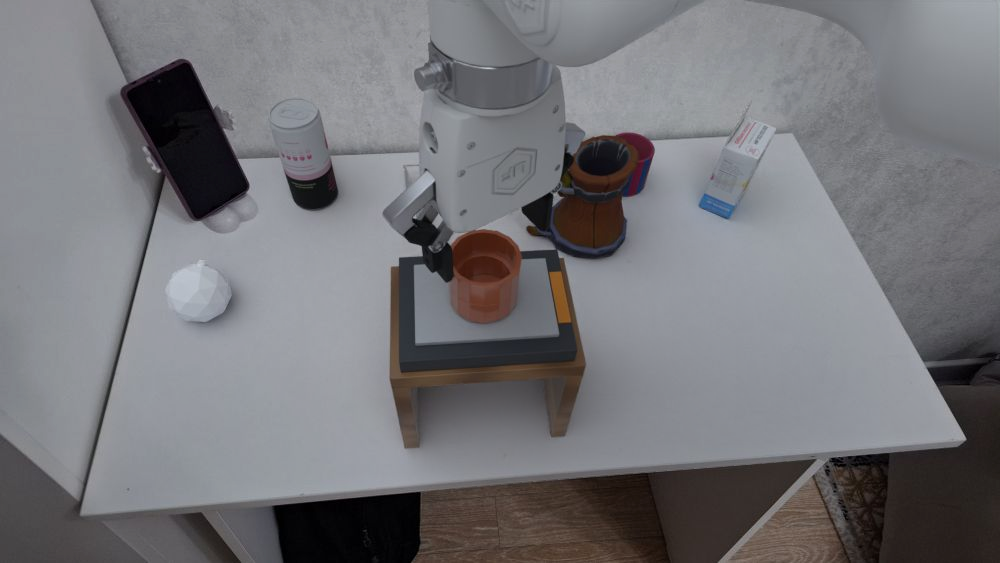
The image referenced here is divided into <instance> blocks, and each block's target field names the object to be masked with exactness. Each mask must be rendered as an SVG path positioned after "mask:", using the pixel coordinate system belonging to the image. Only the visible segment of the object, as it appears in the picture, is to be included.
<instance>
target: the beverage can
mask: <svg viewBox="0 0 1000 563" xmlns="http://www.w3.org/2000/svg"><path fill="white" fill-rule="evenodd" d="M267 117H268V118H267V122H268V125H269V128H270V132H271V134H272V137H273V138H272V139H273V141H274V144H275V147H276V150H277V154H278V157H279V159H280V162H281V165H282V168H283V171H284V175H285V178H286V181H287V185H288V187H289V191H290V194H291V197H292V200H293V202H294V204H296V206H298V207H299V208H302V209H304V210H308V211H309V210H310V211H316V210H317V211H318V210H321V209H325V208H327V207H329V206H330V205H331V204H333V203H334V202H335V201H336V199H337V198H338V196H339V188H338V182H337V178H336V175H335V171H334V170H335V169H334V167H333V162H332V157H331V153H330V149H329V144H328V140H327V136H326V132H325V128H324V122H323V120H322V115H321V111H320V109H319V108H318V106H317V103H315V102H314V101H313V100H311V99H309V98H306V97H301V96H300V97H299V96H294V97H287V98H283V99H281V100H278V101H277V102H275V103H274V104H273V105H271V107H270V108H269V110H268V113H267Z"/></svg>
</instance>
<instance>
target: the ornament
mask: <svg viewBox="0 0 1000 563" xmlns="http://www.w3.org/2000/svg"><path fill="white" fill-rule="evenodd" d="M164 292H165V297H166V300H167V306H168V309H169V310H171V311H172V312H173V313H175V315H176V316H178V317H180V318H181V319H182V320H184V321H185V322H199V323H200V322H201V323H208V322H209V321H211V320H212V319H214V318H217V317H218V316H220V315H222V314H224V313H225V311H226V309H227V307H228V305H229V302H230V300H231V298H232V296H233V294H232V290H231V286H230V282H229V279H228V277H227V276H226V275H225V274H224V273H223V272H221V271H220V270H219V269H218V268H216V267H215V266H214V265H212V264H207V261H206V260H205V259H199V260H197V263H190V264H187V265H185V266H184V267H182V268H179V269H178V270H176V271H174V272H173V273H172V275H171V277H170V279H169V281H168V282H167V285H166V286H165V289H164Z"/></svg>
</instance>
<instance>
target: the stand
mask: <svg viewBox="0 0 1000 563" xmlns="http://www.w3.org/2000/svg"><path fill="white" fill-rule="evenodd" d="M559 261H560V266H561V270H562V275H563V280H564V285H565V290H566V295H567V300H568V305H569V310H570V315H571V320H572V325H573V330H574V335H575V340H576V345H577V349H578V350H577V354H576V358H575V361H568V362H553V363H538V364H524V365H509V366H494V367H479V368H464V369H450V370H435V371H420V372H405V373H401V371H400V366H399V265H396V266H395V265H393V266H391V267H390V298H389V299H390V303H389V305H390V306H389V308H390V310H389V311H390V313H389V314H390V315H389V383H390V387H391V390H392V391H391V392H392V395H393V396H392V397H393V400H394V405H395V410H396V414H397V419H398V424H399V429H400V434H401V438H402V444H403V447H404V449H417V448H420V428H419V426H420V424H419V420H420V419H419V388H425V387H440V386H453V385H456V386H457V385H469V384H483V383H484V384H485V383H497V382H512V381H524V380H527V381H528V380H542V387H543V393H544V400H545V405H546V411H547V412H546V413H547V417H548V418H547V419H548V424H549V431H550V436H551V438H557V437H565V436H566V435H567V431H568V428H569V424H570V420H571V417H572V414H573V410H574V407H575V404H576V401H577V397H578V394H579V391H580V388H581V384H582V381H583V377H584V374H585V371H586V367H587V362H586V358H585V357H586V356H585V353H584V348H583V343H582V339H581V333H580V329H579V328H580V327H579V324H578V320H577V315H576V310H575V304H574V300H573V296H572V290H571V286H570V281H569V276H568V271H567V267H566V262H565V257H559Z"/></svg>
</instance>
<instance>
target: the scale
mask: <svg viewBox="0 0 1000 563" xmlns="http://www.w3.org/2000/svg"><path fill="white" fill-rule="evenodd" d="M520 252H521V255H522V262H521V272H520V281H519V291H518V298H517V303H516V306H515V307H514V308H513V310H512V311H511V312H510V314H509V315H507V316H505V317H504V318H502V319H500V320H498V321H493V322H487V323H480V322H473V321H470V320H468V319H466V318H464V317H462V316H460V315H459V314H458V313H457V312H456V311H455V309H454V308H453V307H452V306H451V303H450V299H449V293H448V283H446V282H445V281H444V280H443V279H442V278H441V276H440V275H439V274H438V273H437V272H434V273H431V272H430V270H429V269H428V268H427V267H426V265H425V263H424V261H423V255H420V256H419V255H418V256H399V257H398V266H399V366H400V371H401V373H405V372H420V371H435V370H450V369H464V368H479V367H494V366H509V365H524V364H538V363H553V362H568V361H575V358H576V354H577V350H578V349H577V345H576V340H575V335H574V330H573V325H572V320H571V315H570V310H569V305H568V300H567V295H566V290H565V285H564V280H563V275H562V270H561V266H560V261H559V258H560V256H559V252H558V248H556V249H536V250H535V249H534V250H520Z"/></svg>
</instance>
